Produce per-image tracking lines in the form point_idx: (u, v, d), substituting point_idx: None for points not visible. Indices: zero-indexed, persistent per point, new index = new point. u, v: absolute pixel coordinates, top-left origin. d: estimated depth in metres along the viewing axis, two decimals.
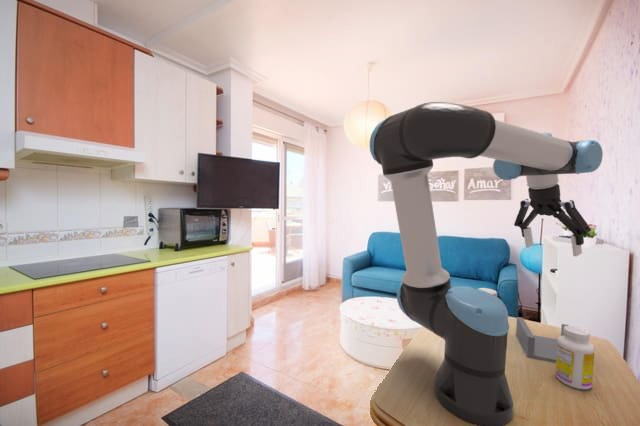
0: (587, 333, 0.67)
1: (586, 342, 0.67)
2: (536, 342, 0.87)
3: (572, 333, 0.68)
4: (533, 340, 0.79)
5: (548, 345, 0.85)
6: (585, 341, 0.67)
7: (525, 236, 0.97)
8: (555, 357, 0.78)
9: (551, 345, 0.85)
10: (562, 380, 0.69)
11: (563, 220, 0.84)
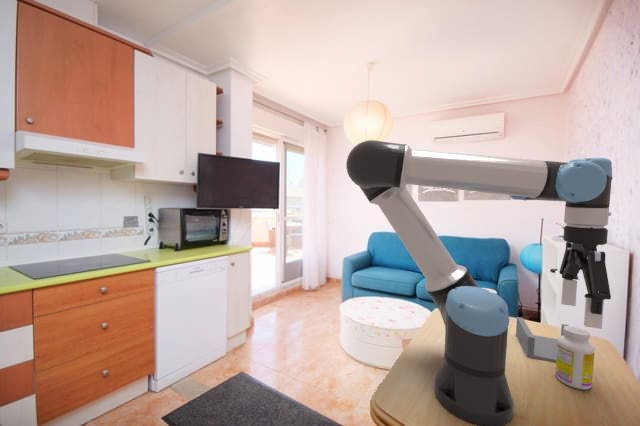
0: (587, 333, 0.67)
1: (586, 342, 0.67)
2: (536, 342, 0.87)
3: (572, 333, 0.68)
4: (533, 340, 0.79)
5: (548, 345, 0.85)
6: (585, 341, 0.67)
7: (562, 288, 0.75)
8: (555, 357, 0.78)
9: (551, 345, 0.85)
10: (562, 380, 0.69)
11: (585, 274, 0.64)
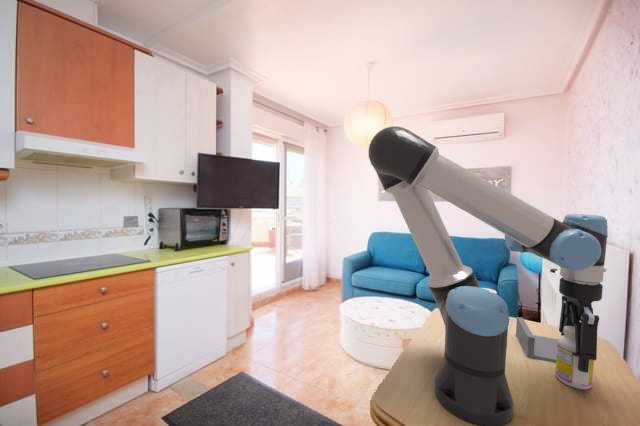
0: None
1: None
2: (536, 342, 0.87)
3: (572, 333, 0.68)
4: (533, 340, 0.79)
5: (548, 345, 0.85)
6: None
7: None
8: (555, 357, 0.78)
9: (551, 345, 0.85)
10: (562, 380, 0.69)
11: (576, 331, 0.66)
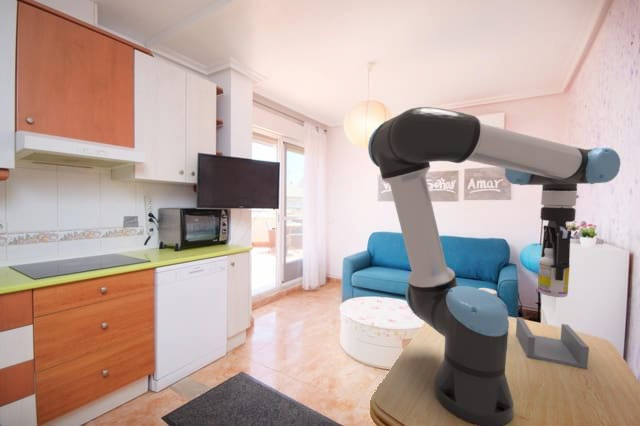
0: None
1: None
2: (536, 342, 0.87)
3: (551, 251, 0.81)
4: (533, 340, 0.79)
5: (548, 345, 0.85)
6: None
7: None
8: (555, 357, 0.78)
9: (551, 345, 0.85)
10: (543, 292, 0.82)
11: (553, 248, 0.79)
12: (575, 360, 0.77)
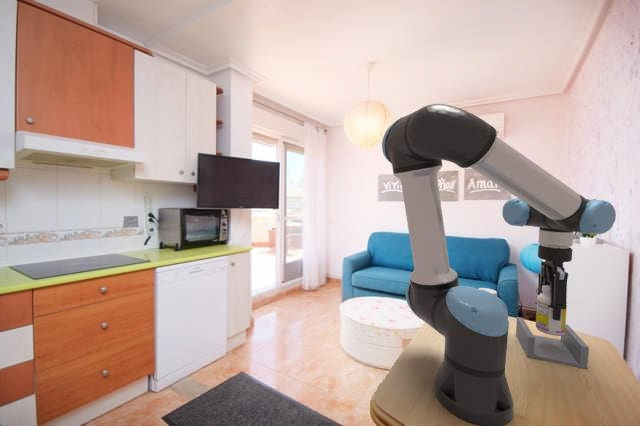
0: None
1: None
2: (536, 342, 0.87)
3: (548, 290, 0.81)
4: (533, 340, 0.79)
5: (548, 345, 0.85)
6: None
7: None
8: (555, 357, 0.78)
9: (551, 345, 0.85)
10: (540, 329, 0.83)
11: (551, 288, 0.80)
12: (575, 360, 0.77)
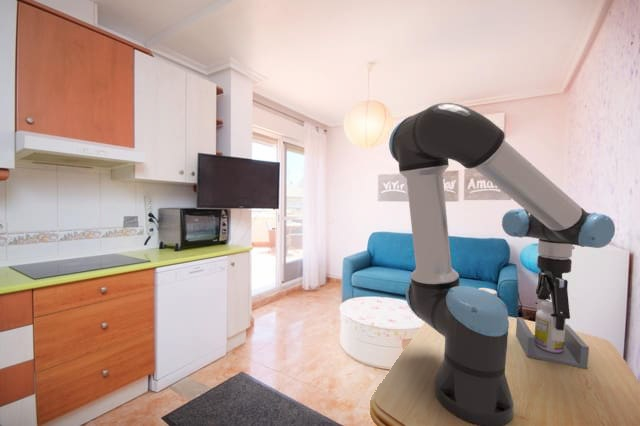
0: None
1: None
2: None
3: (547, 307, 0.82)
4: (533, 340, 0.79)
5: None
6: None
7: (537, 307, 0.90)
8: (555, 357, 0.78)
9: None
10: (539, 346, 0.83)
11: (552, 297, 0.79)
12: (575, 360, 0.77)
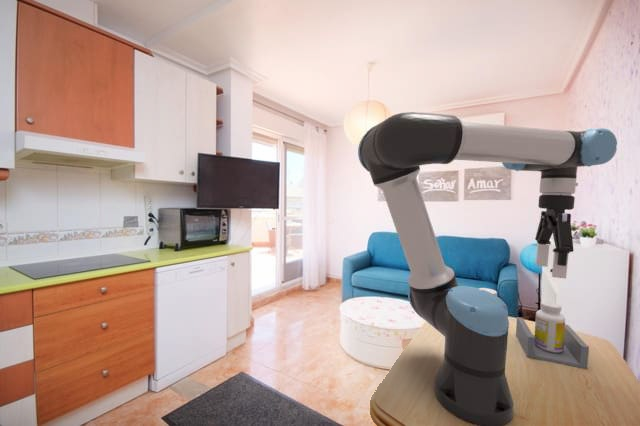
0: (559, 306, 0.81)
1: (558, 313, 0.81)
2: None
3: (547, 307, 0.82)
4: (533, 340, 0.79)
5: None
6: (557, 313, 0.81)
7: (537, 252, 0.87)
8: (555, 357, 0.78)
9: None
10: (539, 346, 0.83)
11: (554, 233, 0.75)
12: (575, 360, 0.77)
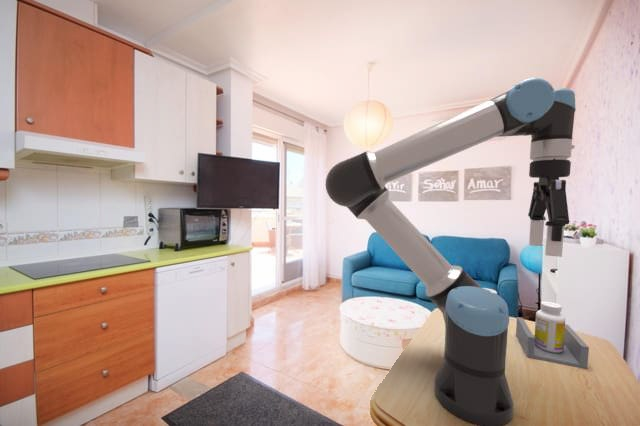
0: (559, 306, 0.81)
1: (558, 313, 0.81)
2: None
3: (547, 307, 0.82)
4: (533, 340, 0.79)
5: None
6: (557, 313, 0.81)
7: (530, 229, 0.75)
8: (555, 357, 0.78)
9: None
10: (539, 346, 0.83)
11: (547, 205, 0.64)
12: (575, 360, 0.77)
